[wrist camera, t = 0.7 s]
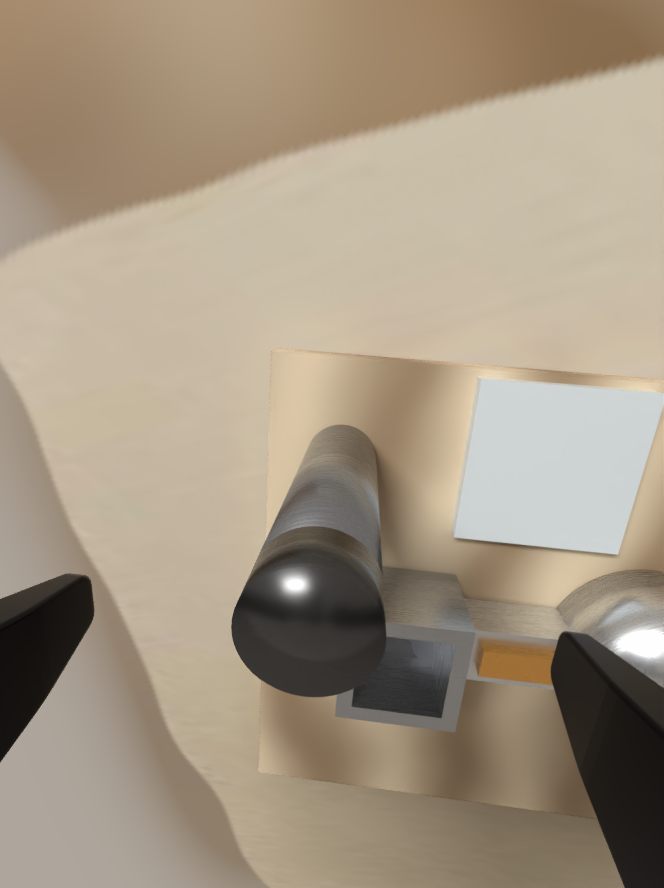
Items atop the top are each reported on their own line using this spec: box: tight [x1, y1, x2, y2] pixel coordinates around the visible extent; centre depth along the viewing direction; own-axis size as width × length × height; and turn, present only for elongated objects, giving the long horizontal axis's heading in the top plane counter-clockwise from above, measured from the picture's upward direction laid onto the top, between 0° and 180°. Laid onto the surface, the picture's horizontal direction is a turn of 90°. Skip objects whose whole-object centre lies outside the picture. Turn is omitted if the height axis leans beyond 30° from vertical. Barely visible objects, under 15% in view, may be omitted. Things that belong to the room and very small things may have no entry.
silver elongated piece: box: [335, 567, 664, 732], centre depth 16 cm, size 16×7×6 cm, turn 86°
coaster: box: [451, 377, 664, 555], centre depth 16 cm, size 6×6×1 cm
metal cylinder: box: [231, 425, 386, 697], centre depth 12 cm, size 3×3×10 cm
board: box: [259, 349, 664, 819], centre depth 20 cm, size 20×22×2 cm
